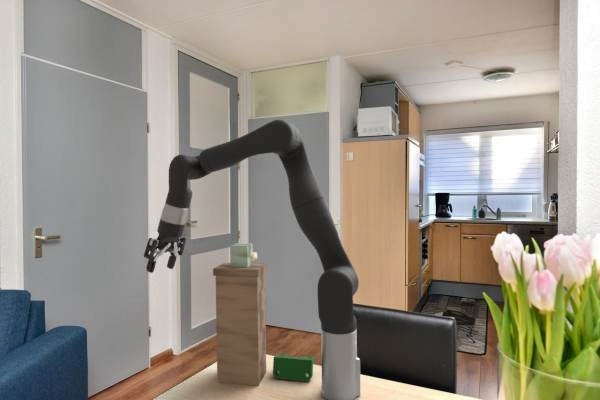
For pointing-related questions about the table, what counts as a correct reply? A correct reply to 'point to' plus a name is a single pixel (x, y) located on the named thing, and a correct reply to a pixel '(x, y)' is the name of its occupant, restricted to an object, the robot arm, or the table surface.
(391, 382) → the table surface
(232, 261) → the mint and tan block
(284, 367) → the green box
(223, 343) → the tool tower
